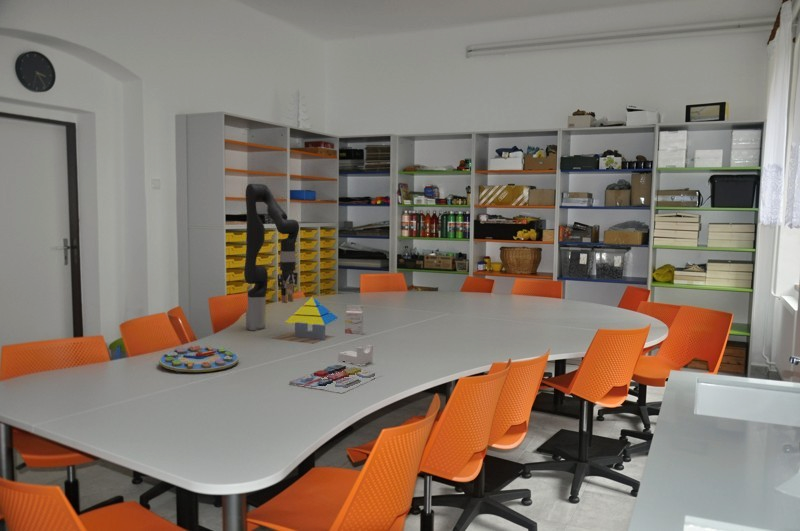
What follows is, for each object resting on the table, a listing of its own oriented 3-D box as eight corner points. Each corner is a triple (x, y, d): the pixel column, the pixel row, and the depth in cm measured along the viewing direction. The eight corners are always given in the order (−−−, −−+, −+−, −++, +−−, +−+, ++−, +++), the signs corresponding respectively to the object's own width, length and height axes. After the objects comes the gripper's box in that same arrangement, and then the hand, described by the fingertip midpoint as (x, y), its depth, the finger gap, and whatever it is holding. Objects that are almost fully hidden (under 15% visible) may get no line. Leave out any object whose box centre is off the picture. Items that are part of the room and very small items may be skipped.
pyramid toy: (325, 326, 352) (325, 300, 351) (282, 324, 358) (282, 298, 357) (340, 319, 377) (340, 295, 375) (299, 317, 382) (300, 293, 381)
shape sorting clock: (164, 378, 239) (164, 362, 239) (154, 360, 266) (154, 346, 265) (247, 370, 253) (247, 355, 253) (229, 354, 280) (229, 340, 280)
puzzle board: (342, 395, 222) (342, 388, 222) (288, 386, 233) (288, 379, 233) (384, 376, 249) (384, 369, 249) (334, 368, 260) (335, 362, 260)
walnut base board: (270, 340, 309) (270, 338, 309) (293, 333, 327) (293, 331, 327) (312, 345, 299) (312, 343, 299) (334, 338, 318) (334, 336, 317)
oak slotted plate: (281, 302, 313) (281, 284, 312) (289, 301, 319) (289, 283, 318) (285, 303, 312) (285, 284, 311) (293, 301, 318) (293, 283, 317)
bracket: (372, 363, 268) (372, 345, 268) (361, 366, 263) (361, 348, 262) (349, 358, 276) (349, 341, 276) (338, 361, 271) (338, 343, 270)
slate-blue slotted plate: (294, 336, 314) (294, 322, 313) (297, 336, 316) (297, 322, 315) (323, 340, 307) (323, 325, 307) (325, 339, 309) (325, 325, 309)
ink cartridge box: (344, 334, 327) (344, 306, 326) (346, 333, 332) (346, 304, 331) (361, 335, 326) (361, 306, 325) (362, 333, 331) (363, 305, 330)
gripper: (289, 259, 322) (289, 292, 323) (272, 261, 309) (272, 295, 310) (302, 260, 319) (302, 293, 320) (285, 262, 306) (285, 297, 307)
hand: (287, 294), depth 315 cm, fingers closed on oak slotted plate, 6 cm apart
